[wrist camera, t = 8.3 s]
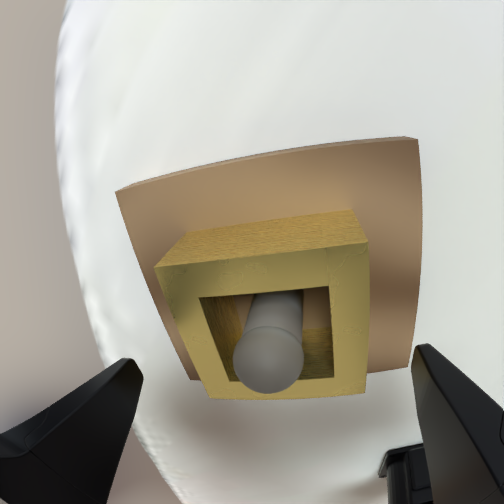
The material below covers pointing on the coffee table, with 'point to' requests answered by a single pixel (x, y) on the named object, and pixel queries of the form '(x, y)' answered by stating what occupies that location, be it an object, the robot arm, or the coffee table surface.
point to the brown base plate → (289, 205)
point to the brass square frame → (268, 280)
